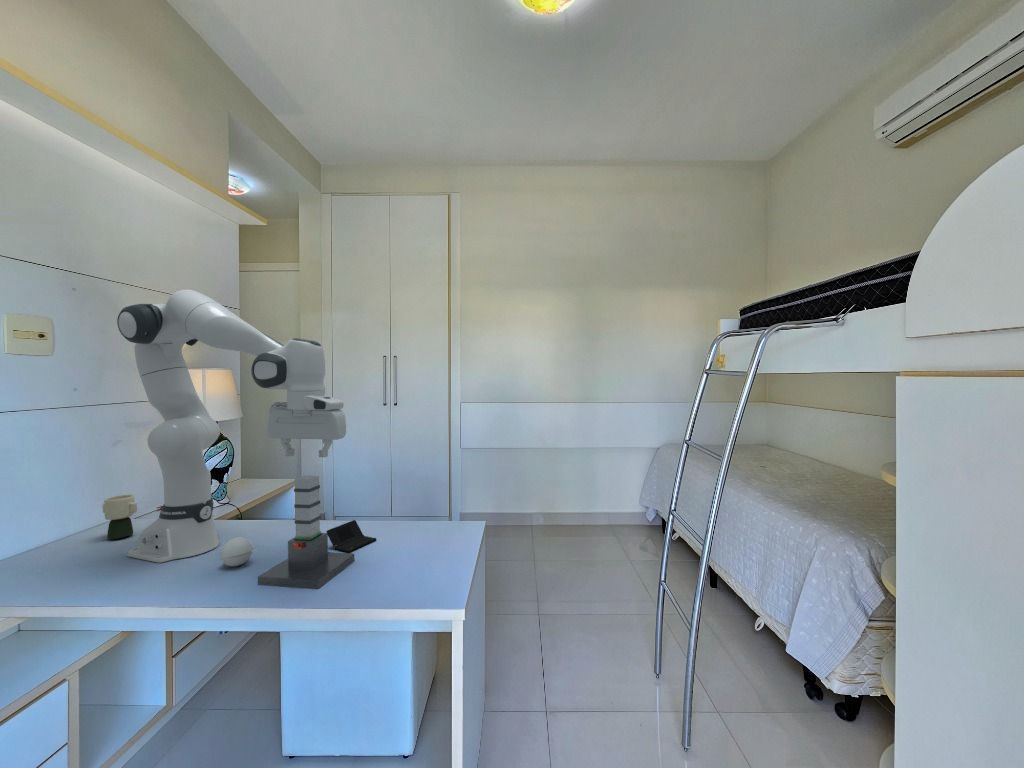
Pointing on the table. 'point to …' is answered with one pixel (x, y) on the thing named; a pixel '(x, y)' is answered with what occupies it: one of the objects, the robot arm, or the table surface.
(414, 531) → the table surface
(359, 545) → the handheld gaming console
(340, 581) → the table surface
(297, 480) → the column
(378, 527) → the table surface
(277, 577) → the stand base
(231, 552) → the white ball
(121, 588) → the table surface
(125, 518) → the character mug
